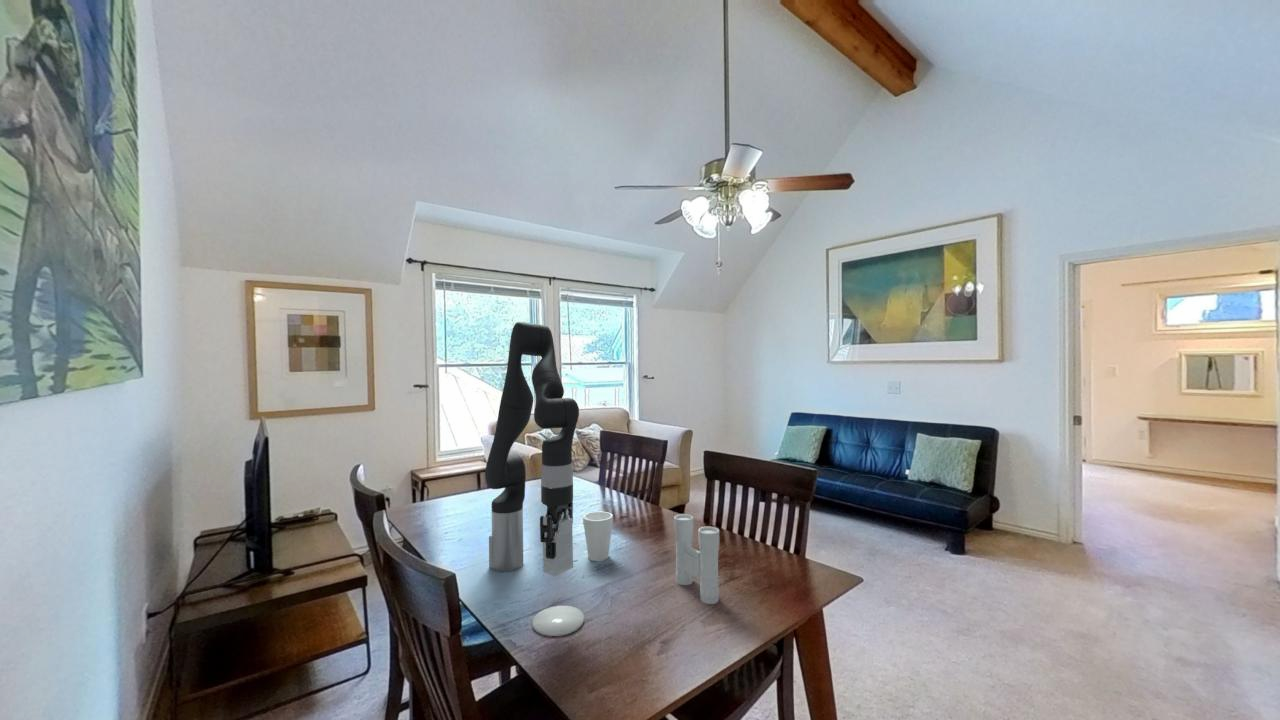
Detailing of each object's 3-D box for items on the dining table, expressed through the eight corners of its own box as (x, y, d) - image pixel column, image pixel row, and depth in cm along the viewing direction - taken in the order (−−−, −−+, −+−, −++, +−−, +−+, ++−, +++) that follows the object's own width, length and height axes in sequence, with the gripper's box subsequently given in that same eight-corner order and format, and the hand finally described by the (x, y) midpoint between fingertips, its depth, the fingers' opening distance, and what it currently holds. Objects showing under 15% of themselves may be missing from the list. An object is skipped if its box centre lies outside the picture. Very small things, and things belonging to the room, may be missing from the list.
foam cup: (599, 565, 144) (598, 522, 144) (577, 558, 149) (576, 517, 149) (619, 555, 151) (618, 514, 151) (597, 548, 157) (597, 509, 157)
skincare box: (561, 563, 117) (561, 514, 117) (573, 568, 114) (573, 518, 114) (542, 572, 112) (541, 521, 112) (553, 577, 109) (553, 525, 109)
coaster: (523, 632, 108) (523, 629, 108) (546, 606, 120) (546, 603, 120) (572, 639, 105) (572, 635, 105) (590, 611, 117) (590, 608, 117)
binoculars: (671, 579, 134) (670, 516, 134) (687, 575, 137) (686, 512, 137) (707, 607, 119) (706, 535, 119) (724, 601, 122) (723, 531, 122)
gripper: (554, 474, 121) (555, 539, 121) (528, 489, 107) (529, 562, 107) (582, 475, 119) (583, 541, 119) (559, 491, 105) (560, 565, 105)
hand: (557, 551), depth 113 cm, fingers closed on skincare box, 7 cm apart
